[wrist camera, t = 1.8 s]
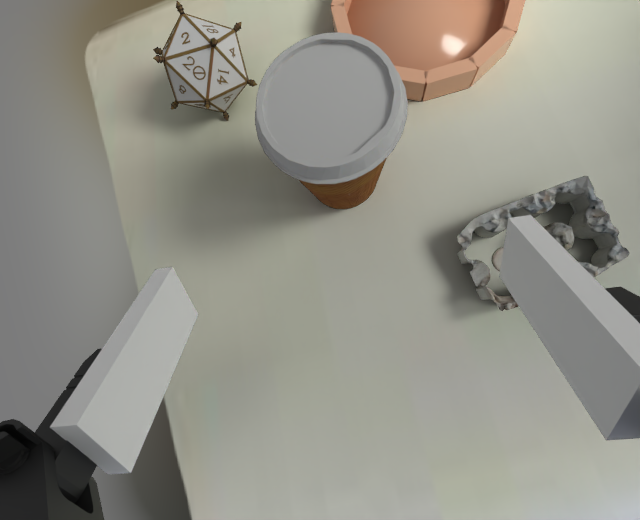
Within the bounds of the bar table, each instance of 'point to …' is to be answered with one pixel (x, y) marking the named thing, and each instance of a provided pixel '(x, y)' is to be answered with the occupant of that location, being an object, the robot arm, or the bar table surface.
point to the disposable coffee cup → (331, 115)
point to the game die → (203, 63)
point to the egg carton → (583, 224)
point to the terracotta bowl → (433, 38)
